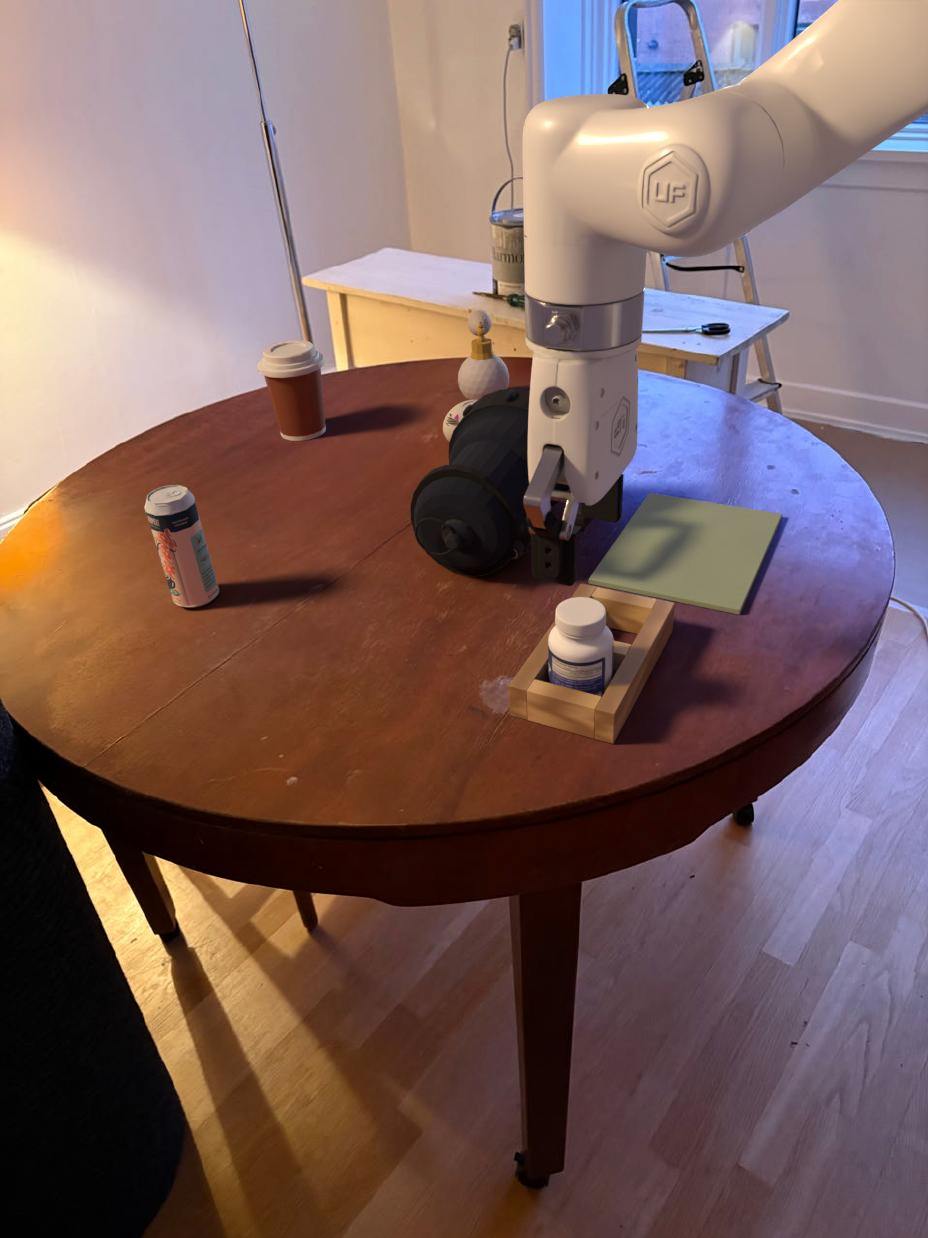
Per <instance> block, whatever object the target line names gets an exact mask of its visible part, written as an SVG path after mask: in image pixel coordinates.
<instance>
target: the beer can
mask: <svg viewBox="0 0 928 1238" xmlns="http://www.w3.org/2000/svg"><path fill="white" fill-rule="evenodd" d="M143 509H144V512H145V514H146V518H147V521H148V524H149V527H150V531H151V533H152V537H153V540H154V543H155V546H156V550H157V552H158V556H159V559H160V563H161V565H162V568H163V573H164V575H165V579H166V582H167V585H168V589H169V592H170V595H171V596H170V597H171V599H172V602H173V603H174V604H175V605H176V606H179V607H181V608H189V609H193V608H200V607H204V606H206V605H207V604H209V603H211V602H212V601H213V600H214V599H216V597H217V596H218V595H219V593H220V588H219V586H218V582H217V578H216V574H215V571H214V566H213V562H212V559H211V556H210V552H209V548H208V545H207V540H206V537H205V533H204V529H203V525H202V522H201V518H200V513H199V511H198V507H197V503H196V498H195V495H194V494H193V493H192V492H191V491H190V490H189V489H188V487H187V486H184V485H182V484H181V485H180V484H171V485H170V484H168V485H164V486H160V487H158V488H155V489H153V490H152V491H150V492H149V493H148V494H147V495H146V499H145V504H144V507H143Z"/></svg>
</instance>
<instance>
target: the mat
mask: <svg viewBox="0 0 928 1238" xmlns="http://www.w3.org/2000/svg"><path fill="white" fill-rule="evenodd" d="M782 519H783V514H782V513H780V512H775V511H774V512H773V511H768V510H761V509H754V508H750V507H749V508H748V507H742V506H735V505H728V504H724V503H716V502H710V501H704V500H697V499H692V498H686V497H679V496H674V495H665V494H659V493H654V492H648V494H647V495H646V496H645V498H644V499H643V500H642V502H641V504H640V505H639V507H637V509H636V511H635V512H634V514H633V515H632V516H631V517H630V519H629V521H628V522H627V523H626V525H625V527H624V528H623V529H622V531H621V532H620V533H619V535H618V536H617V538H616V539H615V540H614V542H613V544H612V545H611V546H610V548H609V549H608V551H607V552H606V554H605V555H604V557H603V558H602V559H601V560H600V562H599V563H598V565H597V566H596V568H595V569H594V570H593V572H592V574H591V575H589V578H588V585H592V586H596V587H601V588H606V589H611V590H616V591H621V592H625V593H630V594H635V595H640V596H645V597H650V598H655V599H659V600H664V601H669V602H674V603H675V602H676V603H680V604H685V605H690V606H694V607H699V608H705V609H710V610H714V611H719V612H723V613H729V614H734V615H739V616H740V615H741V613H742V611H743V608H744V606H745V604H746V601H747V599H748V596H749V594H750V592H751V590H752V587H753V585H754V583H755V580H756V579H757V576H758V573H759V572H760V570H761V567H762V565H763V563H764V560H765V557H766V555H767V553H768V551H769V548H770V546H771V544H772V541H773V539H774V537H775V535H776V532H777V530H778V528H779V526H780V523H781V521H782Z"/></svg>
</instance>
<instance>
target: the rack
mask: <svg viewBox="0 0 928 1238" xmlns="http://www.w3.org/2000/svg"><path fill="white" fill-rule="evenodd" d="M575 597H586V598H591V599H594V600H597V601H599V602H600V603H602V604H603V606H604V607H605V609H606V626H607V627H608V628H609V629H613V630H619V631H623V632H626V633H632V634H635V635H636V637H635V639H634V640H633V642H632V644H631V643H626V642H623V641H622V642H621V641H617V640H615V639H613V641H614V649H613V679H612V681H611V682H610V684H609V686H608V688H607V689H606V691H605V693H604V695H603V696H602V697H601V696H597V695H593V694H590V693H586V692H582V691H578V690H574V689H570V688H566V687H563V686H559V685H555V684H551V683H549V661H548V660H549V659H548V638H549V634H550V632H551V630H552V629H553V628H554V627H555V626H556V624H555V620H554V621H553V622H552V624H551V625H550V626H549V628H548V629H547V630H546V632H545V633H544V635H543V636H542V637H541V639H540V640H539V641H538V643H537V645H536V646H535V648H534V649H533V651H532V652H531V653H530V655H529V656H528V657H527V659H526V660H525V661H524V663H523V665H522V666H521V667H520V668H519V670H518V672H517V673H516V674H515V676H514V678H512V680H511V682H510V683H509V684H508V702H509V703H508V704H509V716H511V717H514V718H518V719H522V720H525V721H528V722H532V723H537V724H539V725H543V726H547V727H550V728H554V729H558V730H561V731H564V732H568V733H570V734H571V733H572V734H575V735H579V736H581V737H582V736H583V737H586V738H590V739H593V740H594V739H595V740H596V741H600V742H604V743H607V744H610V745H614V744H615V743H616V740H617V738H618V736H619V734H620V732H621V730H622V729H623V726H624V725H625V723H626V721H627V719H628V718H629V716H630V714H631V711H632V710H633V708H634V706H635V704H636V702H637V700H638V698H639V696H640V694H641V692H642V691H643V689H644V686H645V685H646V683H647V680H648V679H649V678H650V675H651V673H652V672H653V670H654V667H655V666H656V664H657V661H658V660H659V658H660V656H661V654H662V652H663V650H664V648H665V646H666V644H667V642H668V641H669V638H671V635H672V633H673V629H674V628H673V627H674V616H675V605H676V603H675V602H673V601H668V600H663V599H658V598H654V597H649V596H644V595H639V594H635V593H630V592H625V591H620V590H615V589H610V588H606V587H601V586H596V585H591V584H585V583H580V584H579V585H578V587H577V588H576V590H575V591H574V592H573V594H572V596H571V597H570V598H575Z"/></svg>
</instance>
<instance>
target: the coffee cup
mask: <svg viewBox="0 0 928 1238" xmlns="http://www.w3.org/2000/svg"><path fill="white" fill-rule="evenodd" d="M323 366H325V355H324V354H322V353H321V352H319V351H318V350H317V349H316V347H315V344H314V343H312V342H311V341H308V340H300V339H299V340H298V339H292V340H284V341H279V342H276V343H273V344H269V345H268V346H266V347H265V348H264V349H263V350H262V357H261V359H260V360H258V362H257V366H256V369H257V372H258V373H259V374H260V375H262V376H263V377H264V380H265V383H266V388H267V391H268V394H269V398H270V401H271V404H272V405H271V406H272V408H273V412H274V415H275V418H276V423H277V426H278V429H279V433H280V437H282V439H284V440H287V441H293V442H301V441H309V440H312V439H316V438H318V437H320V436H322V435H323V434H324V433H325V432H326V431H327V427H326V418H325V406H324V405H325V404H324V395H323V394H324V393H323V392H324V391H323V380H322V379H323V377H322V369H321V368H323Z"/></svg>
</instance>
